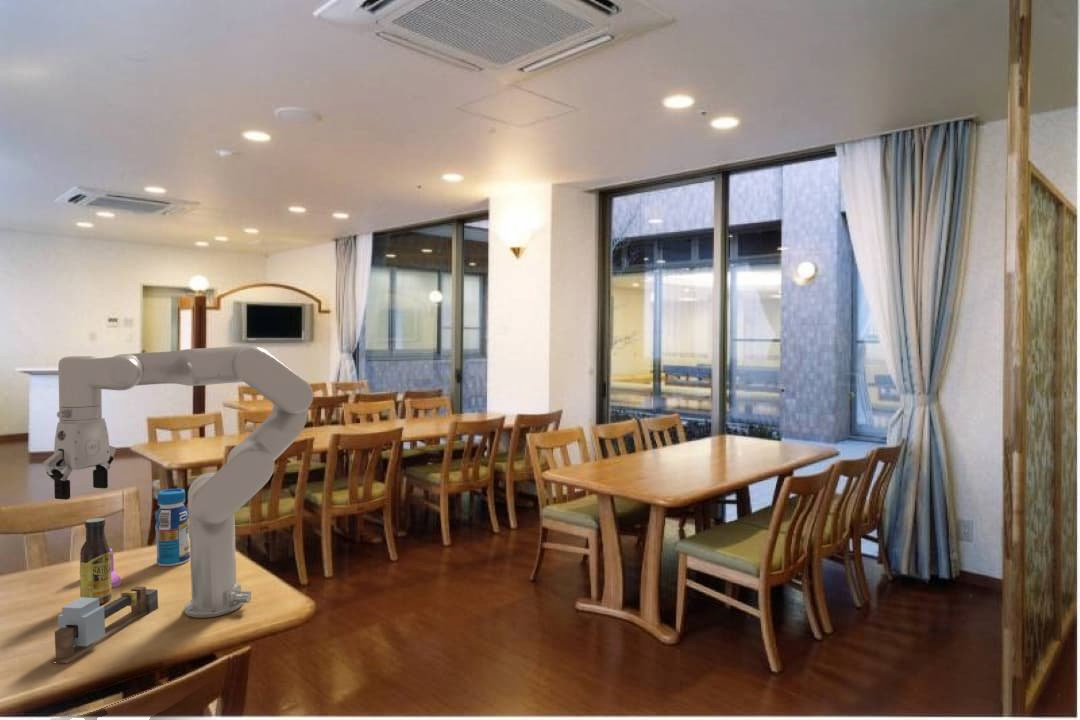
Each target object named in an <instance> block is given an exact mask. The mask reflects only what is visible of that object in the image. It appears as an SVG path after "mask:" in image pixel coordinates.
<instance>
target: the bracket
mask: <svg viewBox="0 0 1080 720" xmlns="http://www.w3.org/2000/svg"><path fill="white" fill-rule="evenodd" d="M109 549H110V551H111V589H113V588H116V587H118V586H120V585H121V582H122V581H121V576H119V574H117V573H116V572H115V566H114V565H115V563H114V553H113V549H112V548H110V547H109Z"/></svg>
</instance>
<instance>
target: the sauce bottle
mask: <svg viewBox="0 0 1080 720" xmlns="http://www.w3.org/2000/svg"><path fill="white" fill-rule="evenodd" d="M105 525H106V518H104V517H97V518H96V517H95V518H91V519H87V520H85V521H84V527H85V534H86V535H85V541H84V543H83V544H82V547H81V548H80V558H79V559H80V561H79V578H80V579H79V586H80V588H79V589H80V591H79V593H80V596H79V598H81V597H86V598H99V604H100V605H102V604H105V603H107V602H108V601H110V600H111V598H112V588H111V551H110V547H109V544H108V542H107V539H106V534H105V527H106V526H105Z"/></svg>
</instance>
